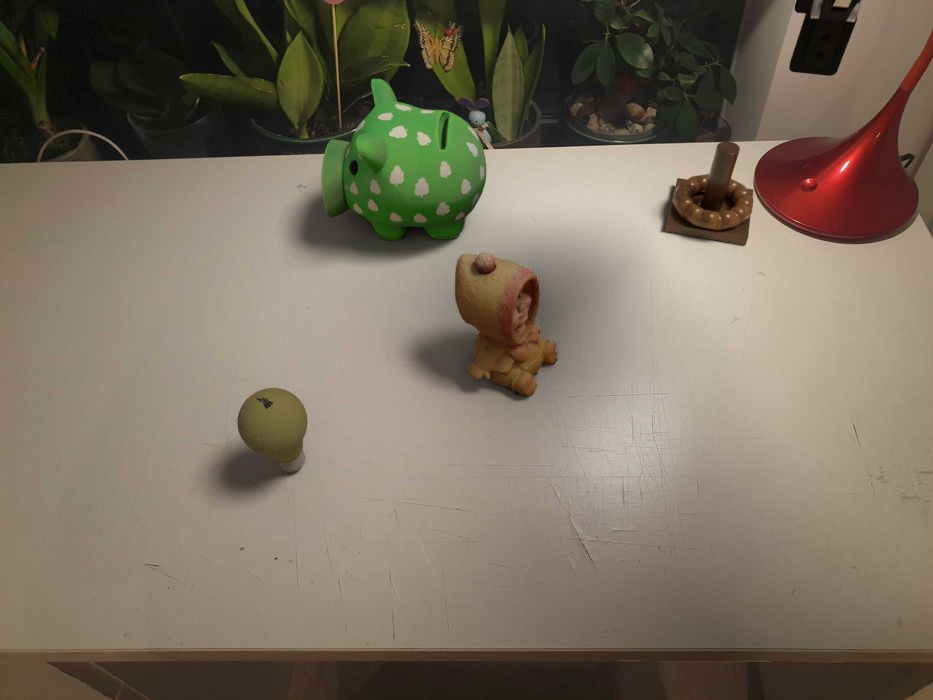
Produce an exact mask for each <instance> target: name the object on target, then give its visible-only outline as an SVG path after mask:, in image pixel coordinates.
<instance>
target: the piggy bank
mask: <svg viewBox="0 0 933 700" xmlns="http://www.w3.org/2000/svg"><path fill="white" fill-rule="evenodd" d="M370 87H371V92H372V97H373V102H374V103H373V104H374V107H373V108H372V110H371V111H370V112H369V113H368V114H367V116H365V118H364V119H363V120H362V121H360V124H358V126H357V127H356V128H355V130H354V132H353V135H352V137H351V141H350V142H349V141H345V140H342V139H341V140H340V139H334V138H333V139H330V140H329V141H328V142H327V145H326V148H325V150H324V154H323V158H322V164H321V177H320V179H321V180H320V183H321V184H320V185H321V193H322V199H323V204H324V208H325V212H326V215H327V217H329V218H330V219H332V218H334V217H337V216H341V215H343V214H344V213H346V212H347V211H349V210H351V211H353V212H354V213H356V214H358V215H360V216H361V217H363V218H365V219H367V220H368V221H369V222H370V223H371V225H372V226H373V229H374V231H375V233H376V234H377V235H378V236H379V237H381V238H382V239H383V240H386V241H397V242H398V241H400V240H401V239H403V237H404V236H405V235H406V233H407V230H408V227H417V228H423V229H424V230H425V231H426V233H427V235H429V236H430V237H432V238H433V239H436V240H451V239H456V238H458V237H459V236H460V235H461V233H462V232H463V230H464V227H465V223H466V218H467V216H469V215H470V214H471V213H472V211H473V210H474V209H475V207H476V206H477V204H478V202H479V201H480V199H481V197H482V195H483V191H484V188H485V186H486V182H487V181H486V180H487V160H486V155H485V150H484V147H483V144H482V142H481V139H480V137H479V135H478V134H477V131H475V129H474V128H473V126H471V125H470V124H469V122H467V121H466V120H465V119H463V118H462V117H460V116H459V115H457V114H455V113H453V112H450V111H448V110H445V109H425V108H420V107H417V106H414V105H411V104H409V103H404V102H400V101H398V100H397V97H396V94H395V93H394V91H393V89H392V87H391V86H390V85H389V83H387V82H386V81H385V80H383V79H381V78H372V79H371V81H370Z"/></svg>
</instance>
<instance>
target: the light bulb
mask: <svg viewBox="0 0 933 700" xmlns="http://www.w3.org/2000/svg"><path fill="white" fill-rule="evenodd" d="M236 421H237V423H236V424H237V431H238V434H239V437H240V439H241V440H242V442H243V443H244V444H245V445H246V447H248V448H249V449H250V450H252V451H253V452H254V453H256V454H259V455H261V456H266V457H270V458H271V459H272V460H274V461H276V463H277V464H278V466H279V468H280V469H281V470H282V471H284V472H287V473H293V472H295V471H299V469H301V468H302V466H304V464H305V462H306V454H305V452H304V450H303V447H304V438H305V436H306V433H307V429H308V413H307V409H306V408H305V406H304V404H303V403H302V401H301V399H300V398H299V397H297V395H296V394H294V393H293V392H291V391H289V390H286V389H285V388H278V387H269V388H268V387H266V388H263V389H260V390H258V391H256V392H254V393H252V394H251V395H249V396H248V397H247V398H246V399H245V400H244V401H243V403H242V405H241V407H240V408H239V411H238V414H237V420H236Z"/></svg>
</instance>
